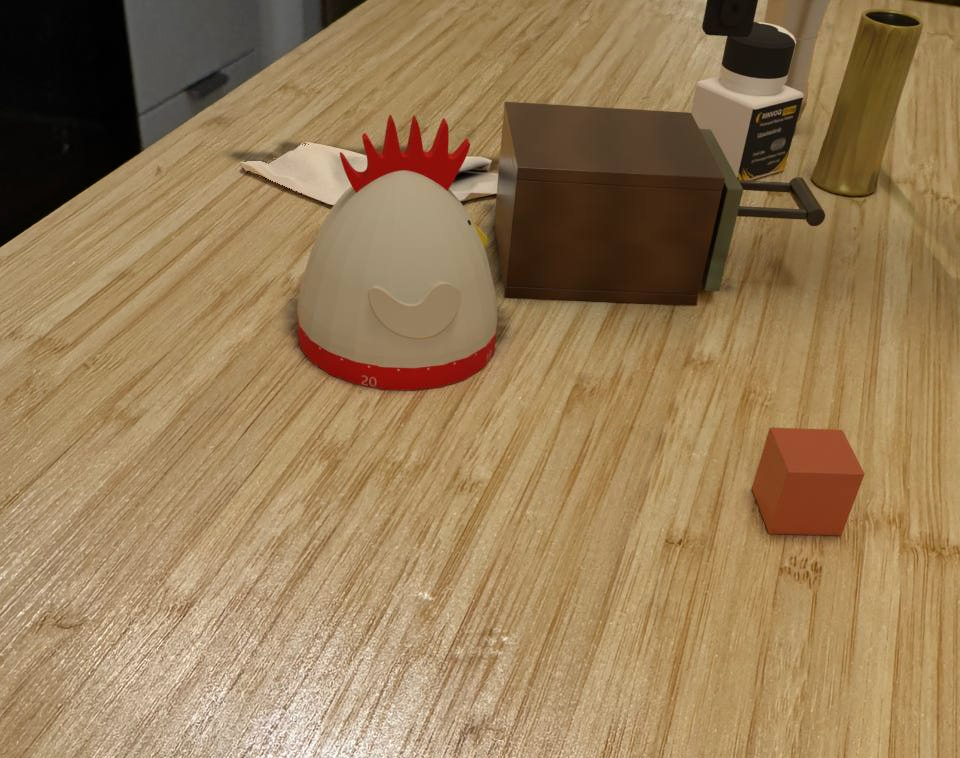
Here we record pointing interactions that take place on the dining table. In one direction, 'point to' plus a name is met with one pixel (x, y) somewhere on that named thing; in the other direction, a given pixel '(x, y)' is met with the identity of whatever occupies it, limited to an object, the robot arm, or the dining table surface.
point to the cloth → (327, 181)
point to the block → (806, 481)
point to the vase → (867, 102)
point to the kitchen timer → (399, 273)
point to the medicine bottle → (752, 102)
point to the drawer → (749, 211)
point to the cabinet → (604, 204)
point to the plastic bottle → (799, 36)
